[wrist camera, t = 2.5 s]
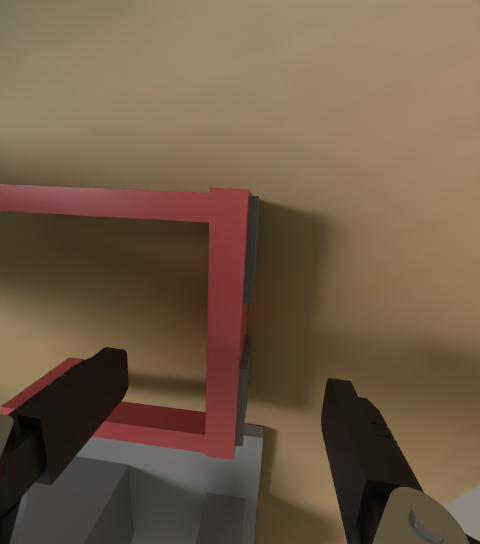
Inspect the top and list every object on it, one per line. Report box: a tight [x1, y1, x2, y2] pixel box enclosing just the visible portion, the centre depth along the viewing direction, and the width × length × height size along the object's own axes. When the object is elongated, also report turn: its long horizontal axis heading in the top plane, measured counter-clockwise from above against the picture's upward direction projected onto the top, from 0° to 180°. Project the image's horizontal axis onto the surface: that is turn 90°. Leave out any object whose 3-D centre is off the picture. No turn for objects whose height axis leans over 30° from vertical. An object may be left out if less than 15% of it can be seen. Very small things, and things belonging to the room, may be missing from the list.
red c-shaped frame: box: [0, 184, 261, 460], centre depth 15 cm, size 14×14×5 cm
